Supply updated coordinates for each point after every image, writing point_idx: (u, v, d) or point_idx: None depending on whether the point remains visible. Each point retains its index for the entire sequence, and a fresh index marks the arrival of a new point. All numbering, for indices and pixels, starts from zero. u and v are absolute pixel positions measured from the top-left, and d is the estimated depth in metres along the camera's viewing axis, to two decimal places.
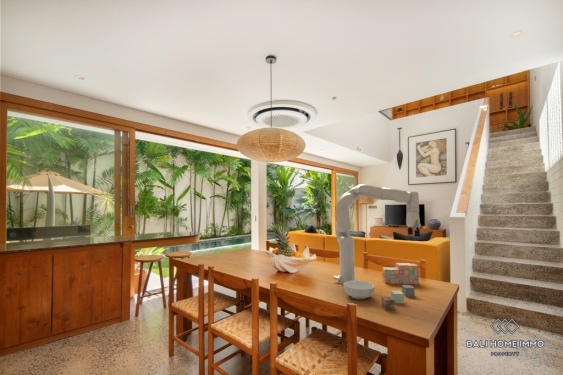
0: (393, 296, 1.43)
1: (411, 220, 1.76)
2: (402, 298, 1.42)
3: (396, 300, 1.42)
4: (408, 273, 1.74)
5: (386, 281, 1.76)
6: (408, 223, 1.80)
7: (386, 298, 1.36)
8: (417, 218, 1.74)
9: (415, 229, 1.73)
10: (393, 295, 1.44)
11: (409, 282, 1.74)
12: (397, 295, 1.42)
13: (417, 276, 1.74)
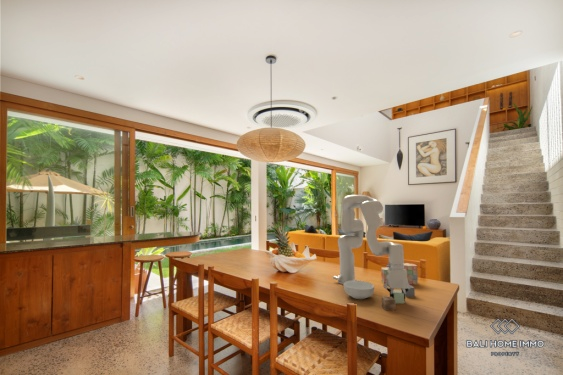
0: None
1: (405, 280, 1.42)
2: (402, 298, 1.42)
3: (396, 300, 1.42)
4: (407, 273, 1.74)
5: (385, 281, 1.75)
6: (397, 285, 1.42)
7: (386, 298, 1.36)
8: None
9: (404, 292, 1.43)
10: None
11: (408, 282, 1.74)
12: (397, 295, 1.42)
13: (416, 276, 1.73)
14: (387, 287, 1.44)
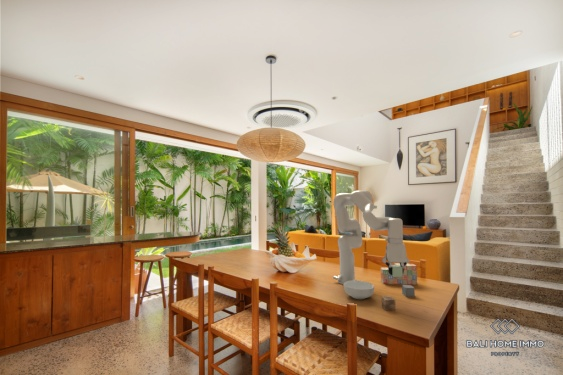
0: (392, 269, 1.44)
1: (403, 254, 1.43)
2: (400, 271, 1.43)
3: (394, 273, 1.43)
4: (406, 273, 1.74)
5: (384, 281, 1.75)
6: (396, 258, 1.43)
7: (386, 298, 1.36)
8: None
9: (403, 266, 1.44)
10: None
11: (407, 282, 1.73)
12: (395, 268, 1.43)
13: (415, 276, 1.73)
14: None
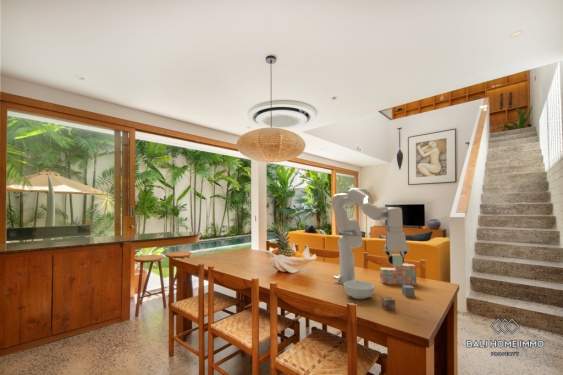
0: (392, 258, 1.44)
1: (403, 243, 1.43)
2: (401, 260, 1.43)
3: (395, 262, 1.43)
4: (405, 273, 1.74)
5: (384, 281, 1.75)
6: (396, 247, 1.43)
7: (386, 298, 1.36)
8: None
9: (403, 255, 1.44)
10: None
11: (407, 282, 1.73)
12: (395, 257, 1.43)
13: (415, 276, 1.73)
14: None
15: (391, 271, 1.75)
